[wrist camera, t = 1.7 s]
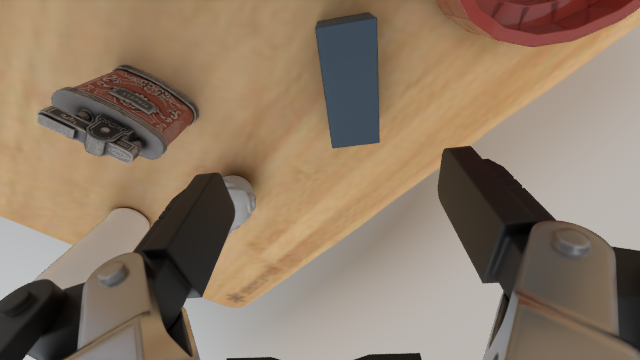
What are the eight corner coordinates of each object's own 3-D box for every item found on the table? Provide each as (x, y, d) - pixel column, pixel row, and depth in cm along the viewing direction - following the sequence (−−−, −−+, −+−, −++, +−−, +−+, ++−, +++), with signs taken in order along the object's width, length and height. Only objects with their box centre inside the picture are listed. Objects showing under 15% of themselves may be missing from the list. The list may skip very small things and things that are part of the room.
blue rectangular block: (317, 21, 23) (315, 28, 19) (369, 12, 22) (376, 17, 18) (331, 128, 28) (332, 148, 25) (373, 123, 28) (379, 142, 24)
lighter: (203, 104, 27) (151, 154, 19) (192, 129, 29) (140, 184, 21) (120, 56, 25) (18, 90, 16) (113, 86, 26) (18, 130, 18)
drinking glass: (118, 193, 35) (5, 305, 22) (165, 221, 37) (88, 333, 25) (97, 217, 37) (-13, 328, 25) (143, 242, 40) (64, 352, 28)
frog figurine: (201, 186, 33) (175, 226, 28) (232, 153, 30) (211, 191, 25) (240, 211, 36) (224, 253, 30) (273, 183, 33) (261, 224, 27)
